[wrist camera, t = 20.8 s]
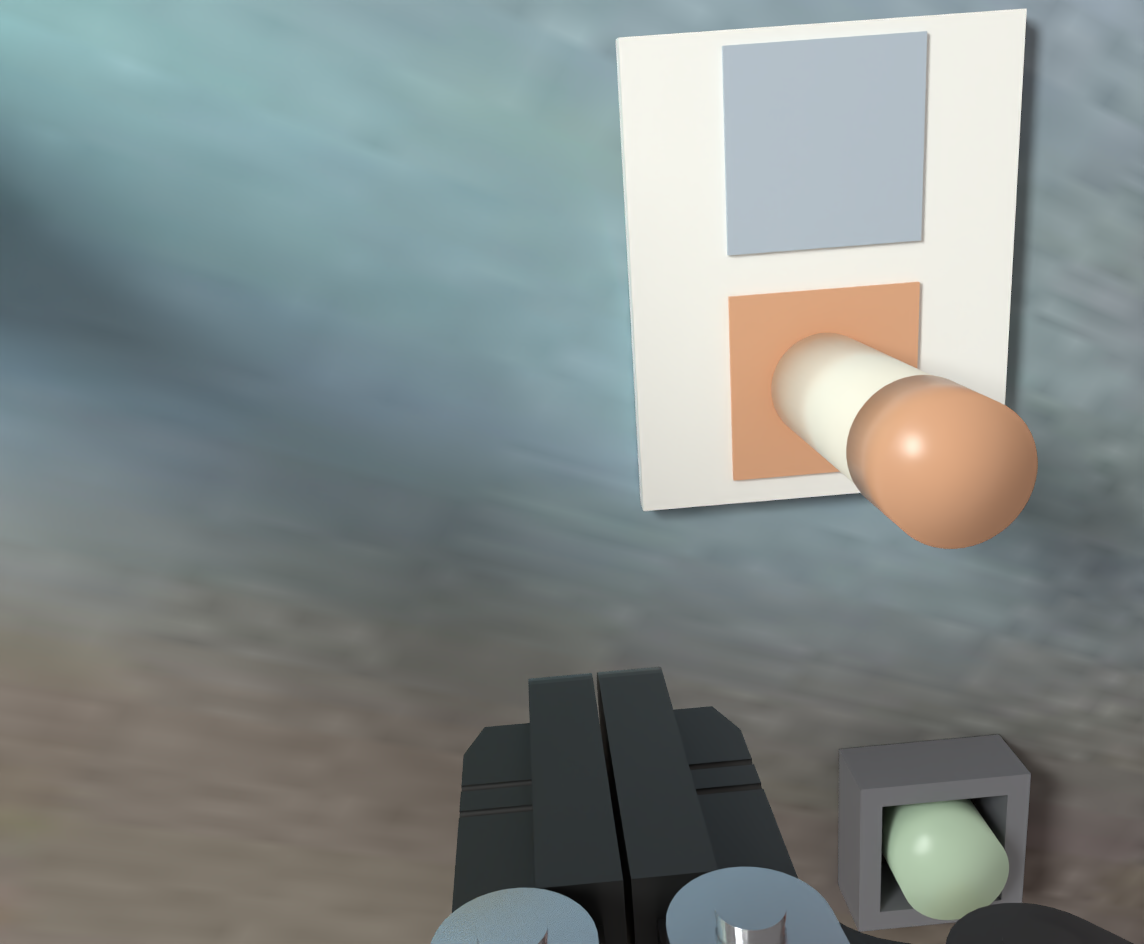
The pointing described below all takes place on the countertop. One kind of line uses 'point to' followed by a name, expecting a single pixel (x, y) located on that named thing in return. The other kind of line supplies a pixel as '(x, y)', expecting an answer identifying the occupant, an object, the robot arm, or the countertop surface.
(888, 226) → the picture board
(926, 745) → the button housing
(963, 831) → the button
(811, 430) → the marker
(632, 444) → the countertop surface
